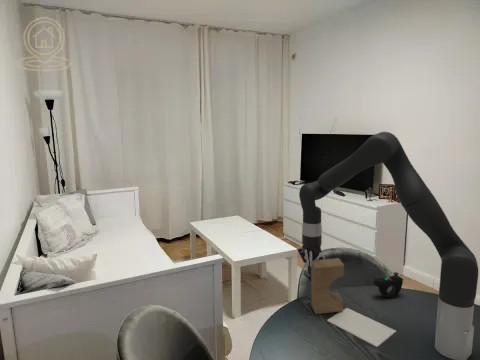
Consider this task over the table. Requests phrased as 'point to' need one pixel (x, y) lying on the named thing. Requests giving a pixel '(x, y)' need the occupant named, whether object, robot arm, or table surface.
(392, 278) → the controller
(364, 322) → the mat
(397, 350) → the table surface
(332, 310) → the decorative block
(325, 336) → the table surface
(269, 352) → the table surface
